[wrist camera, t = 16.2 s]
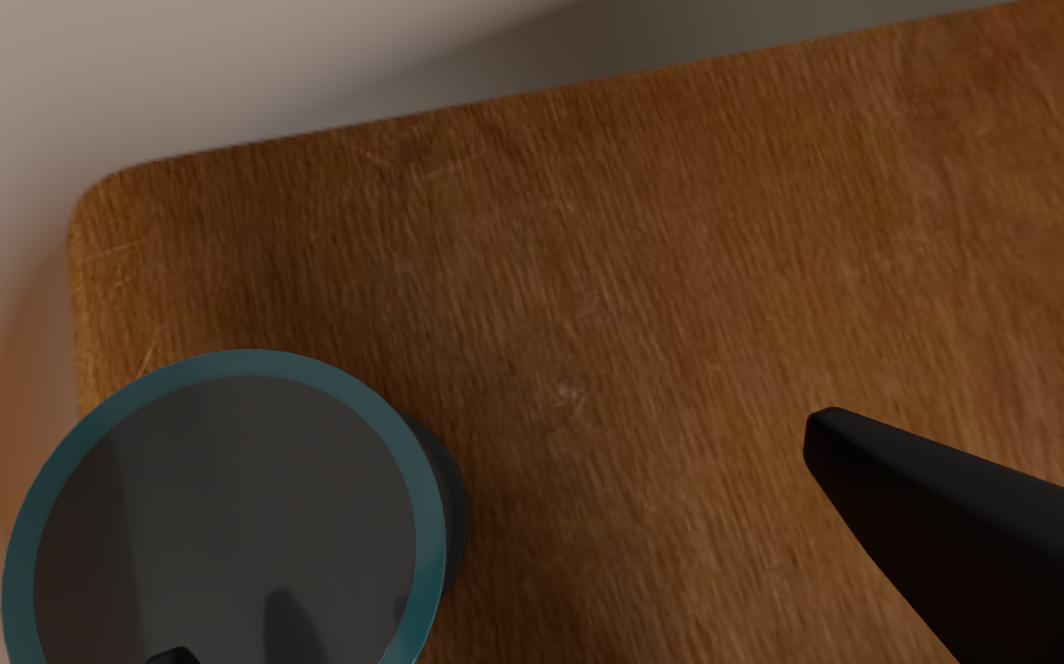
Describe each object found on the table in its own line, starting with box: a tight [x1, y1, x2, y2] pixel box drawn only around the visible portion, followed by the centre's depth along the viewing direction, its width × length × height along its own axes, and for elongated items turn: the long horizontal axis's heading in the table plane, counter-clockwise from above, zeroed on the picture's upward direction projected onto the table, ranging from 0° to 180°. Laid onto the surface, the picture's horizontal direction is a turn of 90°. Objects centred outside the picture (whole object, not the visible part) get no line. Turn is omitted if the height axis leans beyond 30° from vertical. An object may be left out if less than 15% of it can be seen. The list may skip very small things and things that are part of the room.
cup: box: [0, 349, 454, 664], centre depth 15 cm, size 7×7×10 cm
